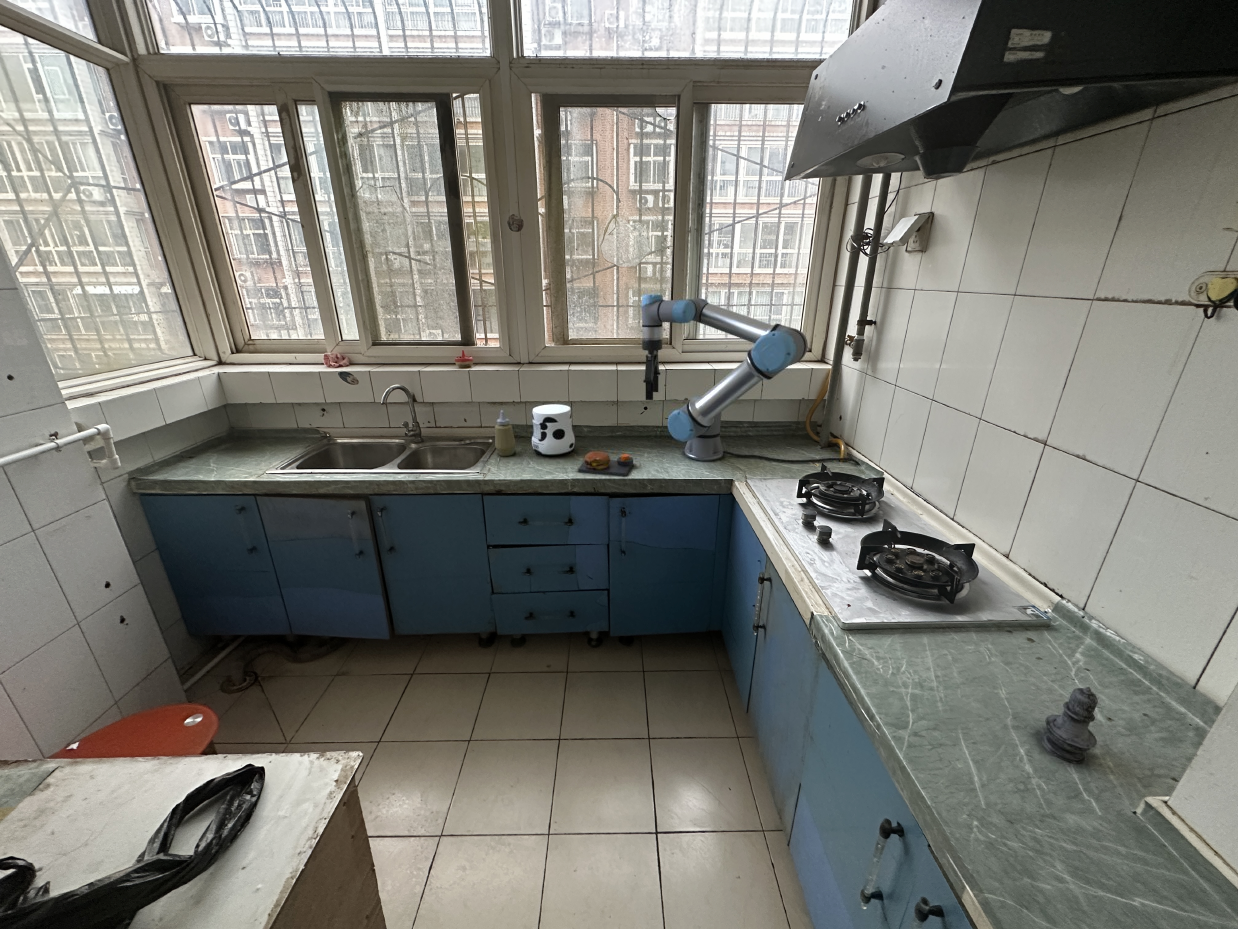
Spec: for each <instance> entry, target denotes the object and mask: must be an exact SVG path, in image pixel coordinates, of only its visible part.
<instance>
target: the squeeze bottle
mask: <svg viewBox="0 0 1238 929" xmlns="http://www.w3.org/2000/svg"><path fill="white" fill-rule="evenodd" d="M494 447H495V449H496V451H497V454H498V455H499V456H502V457H508V456H512V455H513V454H514V452H515V448H516V440H515V435H514V430H513V425H512V424H511V423H510V419H509V418H507V417H506V414H505V411H504V410H500V413H499V418H498V419H496V425H495V426H494Z"/></svg>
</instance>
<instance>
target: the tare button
mask: <svg viewBox="0 0 1238 929" xmlns="http://www.w3.org/2000/svg"><path fill="white" fill-rule="evenodd" d="M620 457H621V460H623V461H627V460H629V457H630V454H627V453H623V454H621V456H620Z"/></svg>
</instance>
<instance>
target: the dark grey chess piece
mask: <svg viewBox="0 0 1238 929" xmlns="http://www.w3.org/2000/svg"><path fill="white" fill-rule="evenodd" d="M1098 704H1099V699H1098V697H1097V695H1096V694H1095V693H1093V692H1092V688H1091V687H1090V686H1086V687H1075V688H1074V689H1072V691H1071V694H1070V695H1069V698H1068V700H1067V701H1065V702H1063V703H1062V707H1063V711H1062V714H1050V715H1047V716H1046V717H1045V720H1044V722H1045V727H1046V732H1045V733H1043V734H1042V735H1041V738H1040V740H1041V743H1042V745H1043V746H1044V748H1045V749H1046V751H1048V752H1050V753H1051V754H1052V755H1053V756H1055V757H1057V758H1058V759H1059V760H1062V761H1064V762H1067V763H1070V764H1075V765H1078V764H1079V765H1080V764H1084V763H1085V762H1086V761H1087V754H1086V752H1088V751H1090V750H1091V749H1093V748H1095V747H1096V746H1097V744H1098V740H1097V738H1096V735H1095V734H1094V733H1093V732H1092V730H1090V729H1089V726H1090V724H1091V723H1093V722H1095V720H1096V716H1095V714H1094V713H1095V710H1096V708H1097V706H1098Z"/></svg>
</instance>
